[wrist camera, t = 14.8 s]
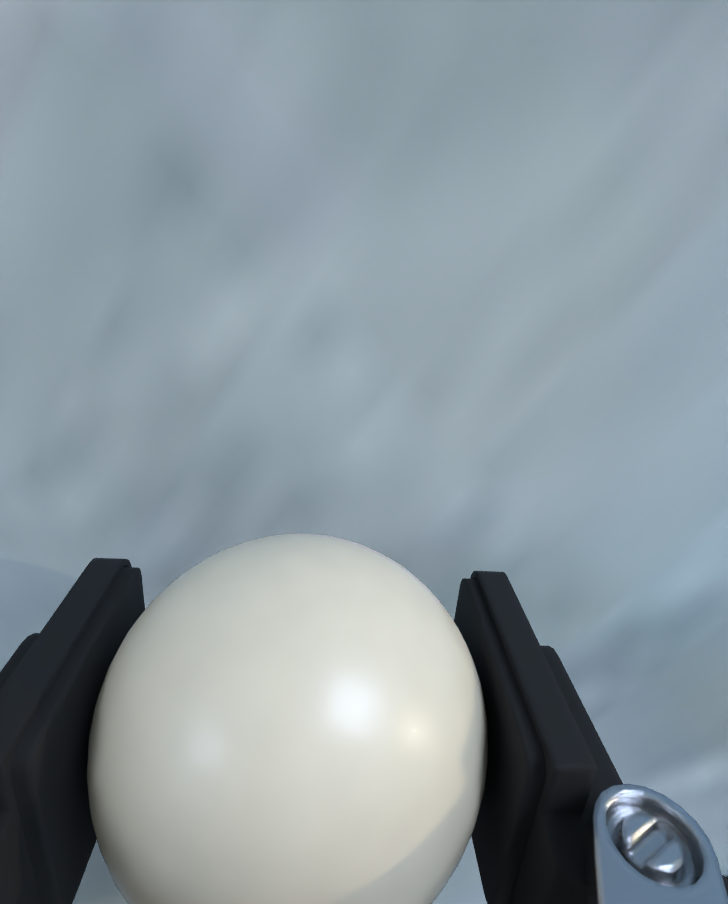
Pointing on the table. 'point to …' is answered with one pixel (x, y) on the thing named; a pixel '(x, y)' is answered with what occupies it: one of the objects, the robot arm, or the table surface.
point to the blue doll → (288, 734)
